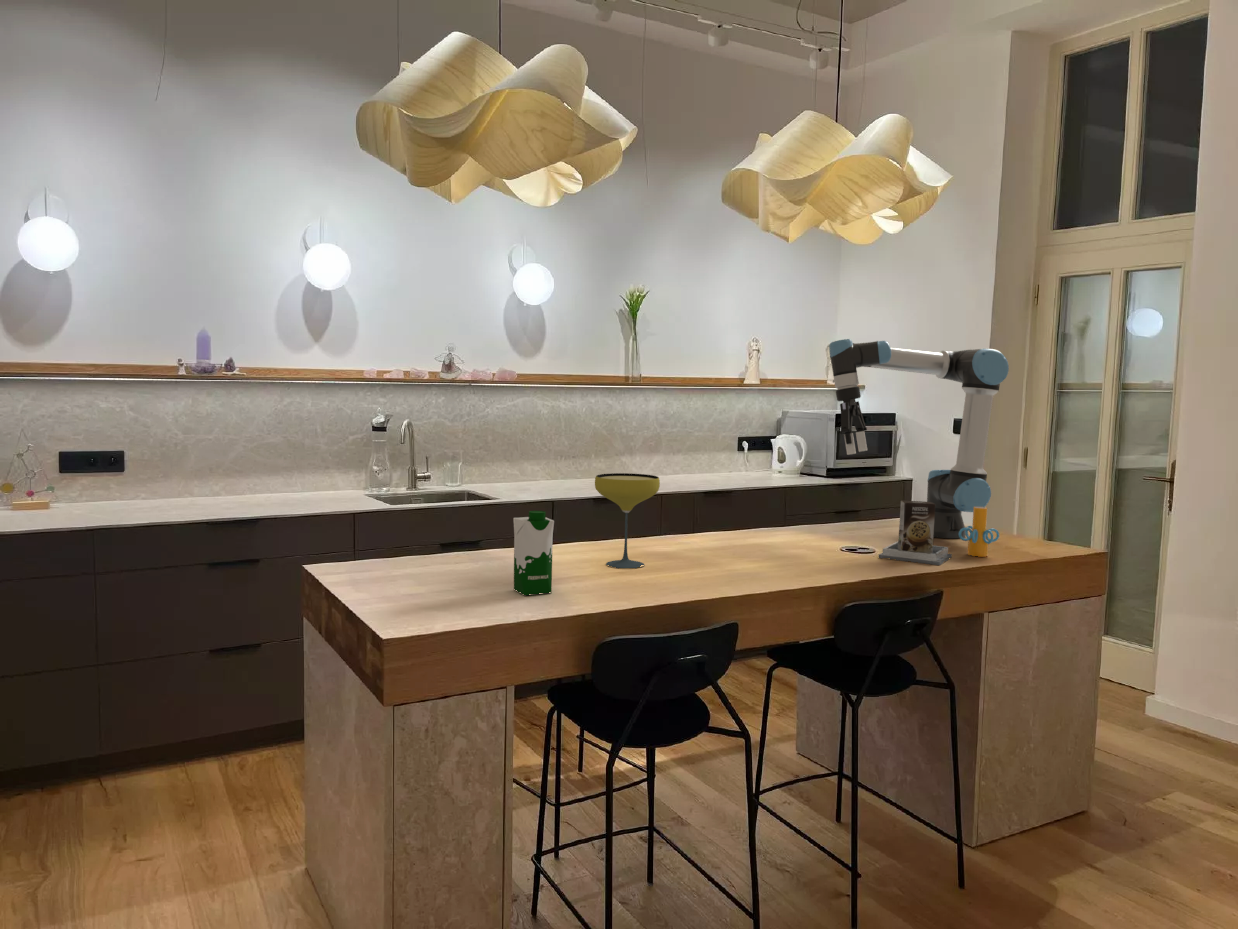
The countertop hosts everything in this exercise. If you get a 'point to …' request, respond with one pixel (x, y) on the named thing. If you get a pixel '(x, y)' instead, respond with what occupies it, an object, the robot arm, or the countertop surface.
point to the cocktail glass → (626, 500)
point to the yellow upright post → (978, 534)
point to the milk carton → (533, 553)
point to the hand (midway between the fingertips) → (857, 452)
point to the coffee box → (916, 526)
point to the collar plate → (916, 555)
